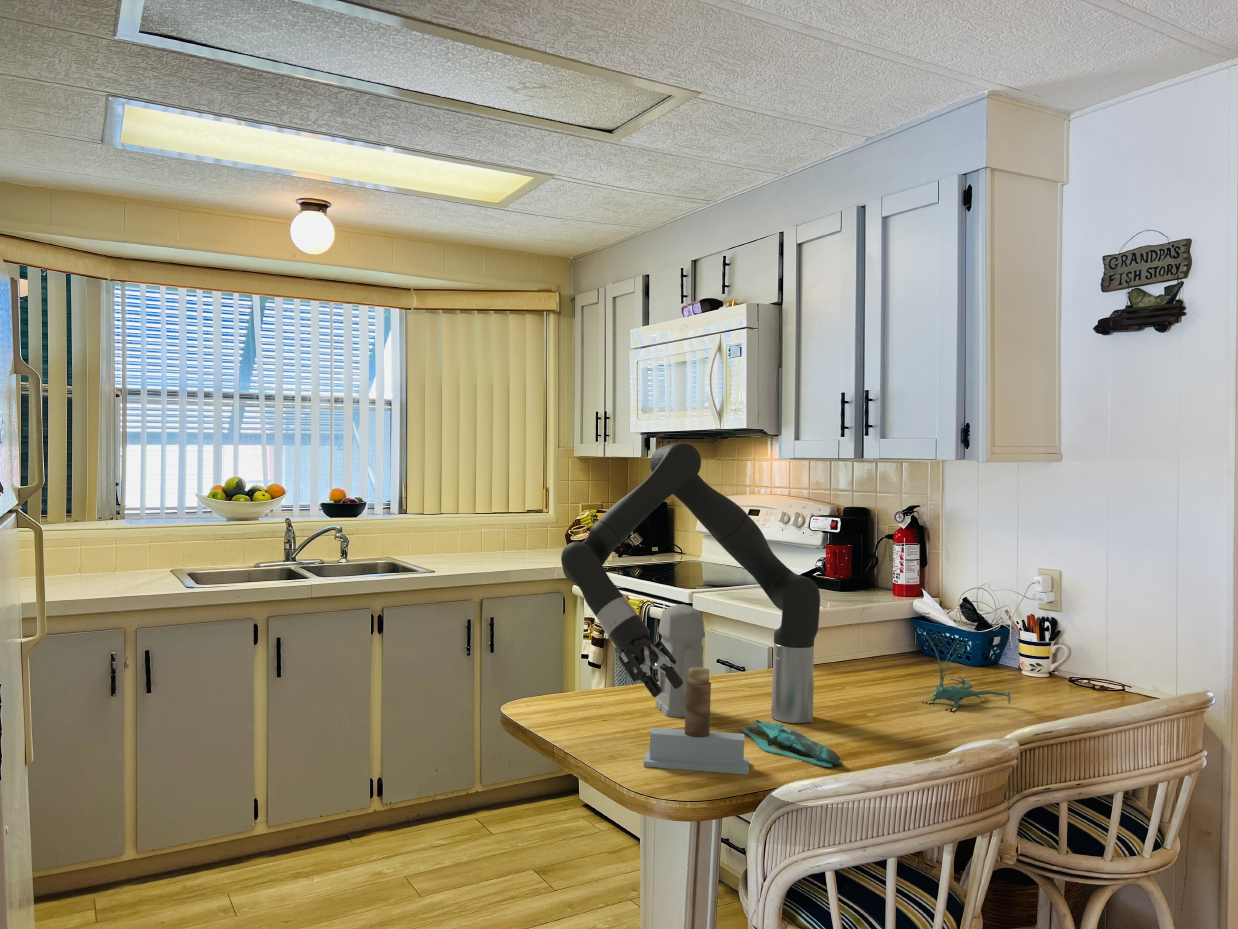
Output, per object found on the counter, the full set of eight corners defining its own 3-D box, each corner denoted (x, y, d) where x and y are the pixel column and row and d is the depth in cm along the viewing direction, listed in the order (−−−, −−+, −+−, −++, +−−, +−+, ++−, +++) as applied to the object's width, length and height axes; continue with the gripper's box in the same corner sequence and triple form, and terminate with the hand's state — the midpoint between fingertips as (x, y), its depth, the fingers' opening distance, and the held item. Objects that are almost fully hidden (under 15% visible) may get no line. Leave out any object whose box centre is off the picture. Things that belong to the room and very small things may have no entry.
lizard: (881, 701, 231) (883, 619, 230) (953, 690, 242) (955, 612, 242) (951, 726, 210) (953, 637, 210) (1026, 713, 222) (1028, 628, 221)
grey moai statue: (713, 717, 210) (717, 609, 209) (673, 721, 206) (677, 610, 205) (684, 700, 223) (687, 599, 223) (646, 704, 219) (649, 600, 219)
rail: (748, 762, 179) (749, 732, 179) (748, 774, 172) (749, 743, 172) (647, 754, 182) (648, 725, 182) (643, 766, 175) (644, 735, 175)
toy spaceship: (817, 779, 174) (818, 753, 174) (724, 735, 197) (725, 712, 196) (857, 769, 180) (859, 744, 180) (763, 727, 203) (764, 705, 203)
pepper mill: (709, 731, 179) (711, 667, 179) (708, 738, 174) (710, 673, 174) (685, 729, 180) (687, 666, 180) (683, 736, 175) (685, 671, 175)
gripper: (615, 618, 179) (664, 686, 173) (652, 609, 191) (698, 672, 185) (592, 641, 182) (638, 709, 175) (629, 631, 194) (674, 694, 187)
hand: (669, 690), depth 180 cm, fingers open, 8 cm apart
